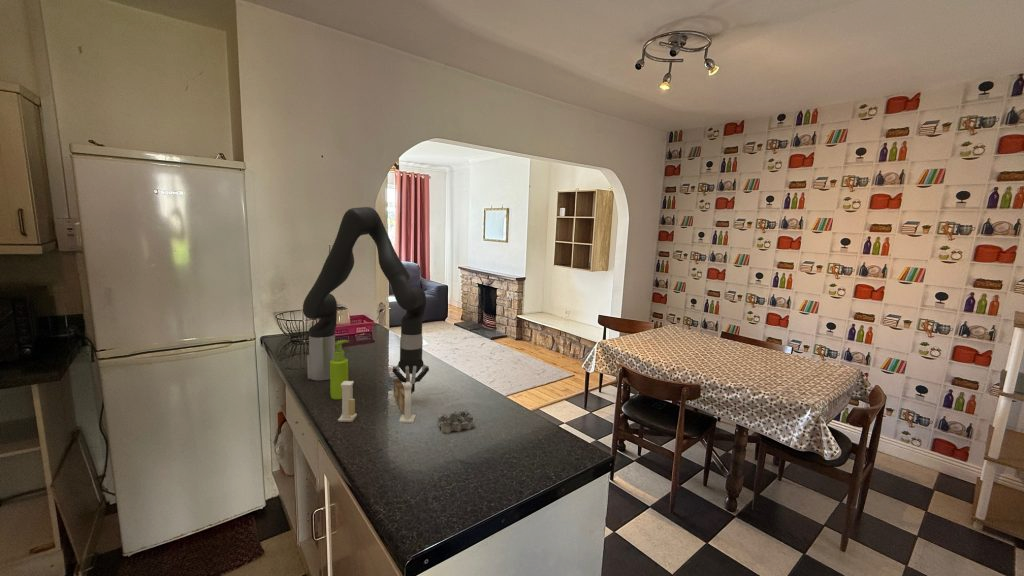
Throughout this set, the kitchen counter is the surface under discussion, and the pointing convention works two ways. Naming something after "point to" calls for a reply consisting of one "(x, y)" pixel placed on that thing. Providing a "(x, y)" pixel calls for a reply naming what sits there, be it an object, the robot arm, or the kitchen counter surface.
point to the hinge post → (407, 405)
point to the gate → (399, 393)
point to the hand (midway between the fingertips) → (410, 392)
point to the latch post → (347, 402)
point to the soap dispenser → (338, 371)
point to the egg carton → (459, 420)
